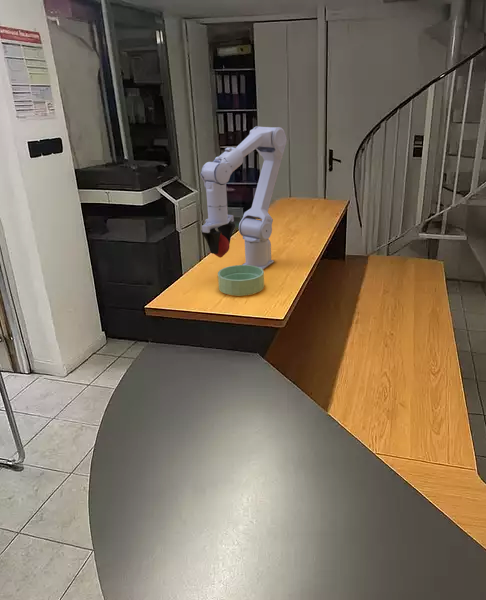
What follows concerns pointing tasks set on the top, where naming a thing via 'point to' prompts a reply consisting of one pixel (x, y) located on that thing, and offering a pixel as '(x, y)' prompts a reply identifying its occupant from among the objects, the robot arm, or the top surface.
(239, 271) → the bowl
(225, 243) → the onion
